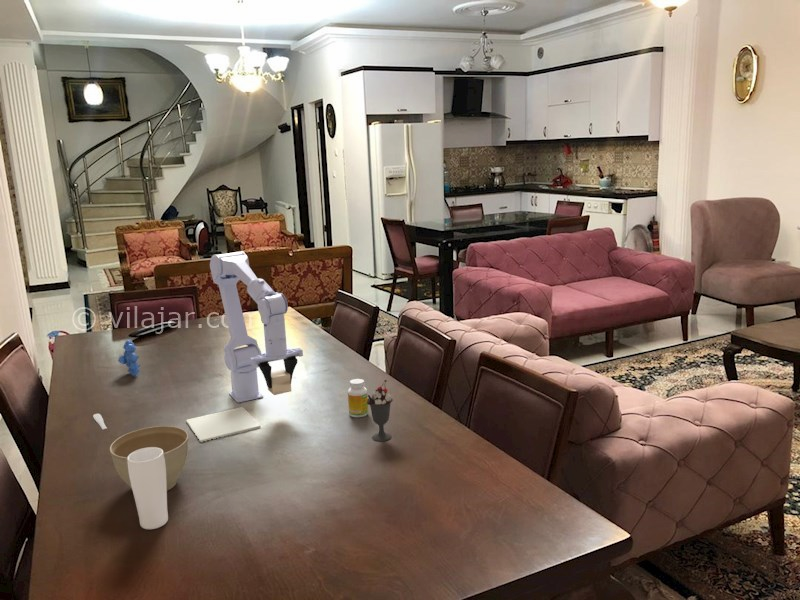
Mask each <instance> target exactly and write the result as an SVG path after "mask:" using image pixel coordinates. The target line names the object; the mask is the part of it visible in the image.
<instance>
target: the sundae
mask: <svg viewBox="0 0 800 600" xmlns="http://www.w3.org/2000/svg"><path fill="white" fill-rule="evenodd" d="M387 381H388V380H387V379H384V380H383V383H382V385H381V386H378V387H377V389H375V390H373V392H372V394H371V395H370V394H367V395H368V399H367V404H368V406H369V407H370V411H371V416H372V417H371V418H372V420H373V422H374V424H376V425H378V432H377V433H374V434H373V435H372V440H373V441H376V442H387V441H389V440H391V438H392V435H391V433H387V432H385V428H384V427H385V425H386V424H387V423H388V421H389V420H390V419H389V418H390V411H391V404H392V402H393V401H394V399H393V398H392V397H391V395H390V394H389V392H388V389H387V388H386V387H384V388H382V386H384V385H385V384H386V383H387Z"/></svg>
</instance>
